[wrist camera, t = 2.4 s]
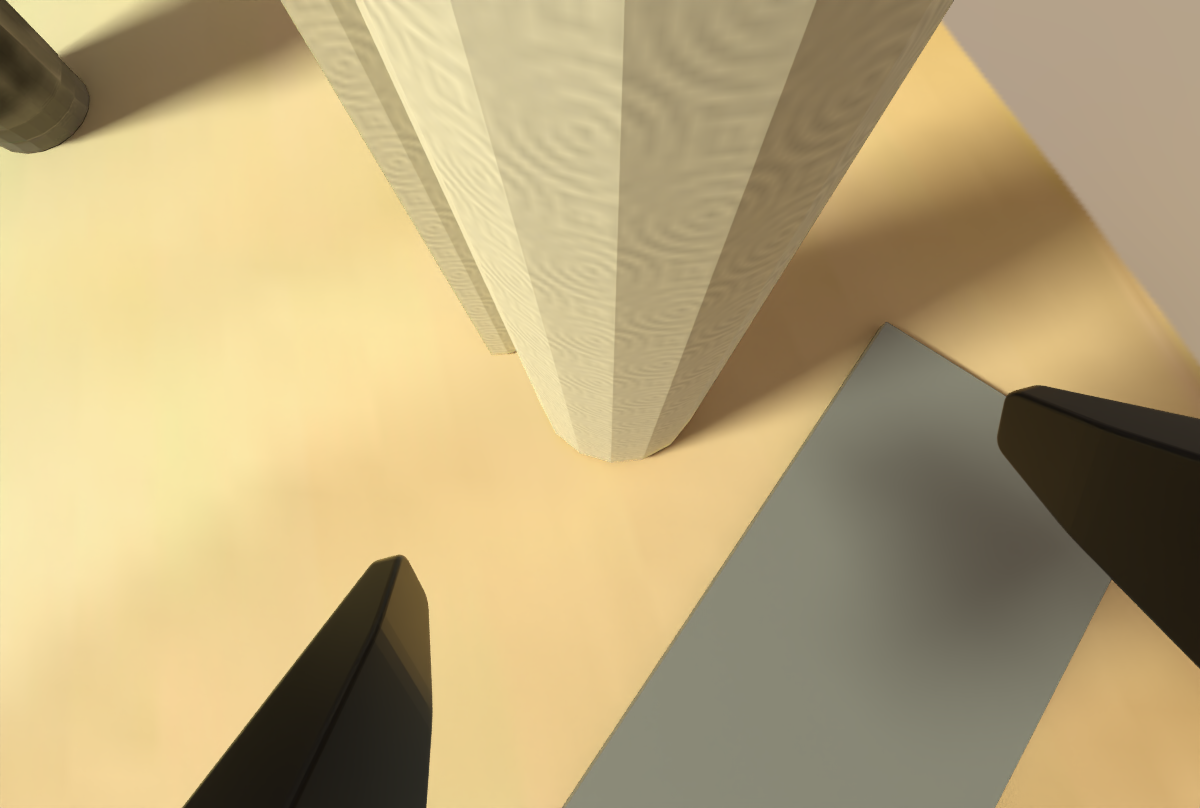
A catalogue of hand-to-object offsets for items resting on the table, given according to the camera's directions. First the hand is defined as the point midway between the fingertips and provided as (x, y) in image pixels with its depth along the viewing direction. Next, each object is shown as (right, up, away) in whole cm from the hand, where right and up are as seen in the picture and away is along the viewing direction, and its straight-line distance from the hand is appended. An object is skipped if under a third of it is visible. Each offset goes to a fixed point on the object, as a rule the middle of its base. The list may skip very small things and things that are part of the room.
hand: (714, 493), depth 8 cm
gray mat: (+7, -8, +12) cm, 16 cm away
